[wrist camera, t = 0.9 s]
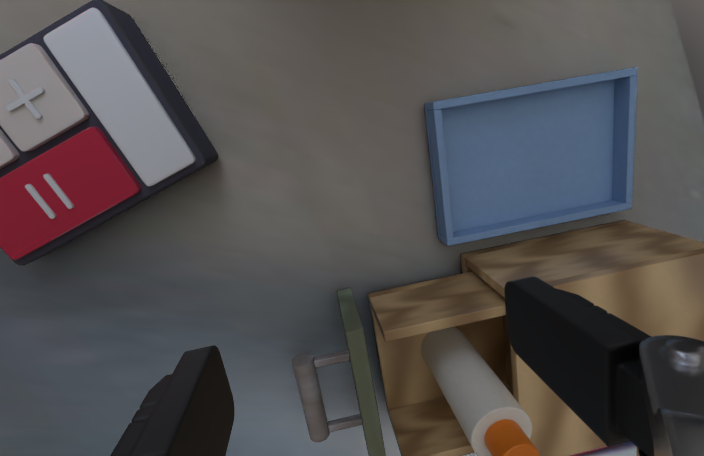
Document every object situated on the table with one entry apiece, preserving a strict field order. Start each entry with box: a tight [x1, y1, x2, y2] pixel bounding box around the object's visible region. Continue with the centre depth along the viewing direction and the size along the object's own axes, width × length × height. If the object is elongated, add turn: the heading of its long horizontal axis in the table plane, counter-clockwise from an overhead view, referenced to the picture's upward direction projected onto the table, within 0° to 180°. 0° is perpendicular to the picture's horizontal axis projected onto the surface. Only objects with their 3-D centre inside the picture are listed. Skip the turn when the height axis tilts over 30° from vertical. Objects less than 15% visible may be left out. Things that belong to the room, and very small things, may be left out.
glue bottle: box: [422, 327, 539, 456], centre depth 27 cm, size 4×4×12 cm
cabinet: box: [461, 220, 704, 456], centre depth 32 cm, size 16×15×9 cm
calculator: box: [0, 0, 218, 265], centre depth 25 cm, size 11×4×15 cm
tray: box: [424, 67, 637, 246], centre depth 31 cm, size 11×16×2 cm
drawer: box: [292, 271, 513, 456], centre depth 31 cm, size 19×13×7 cm
